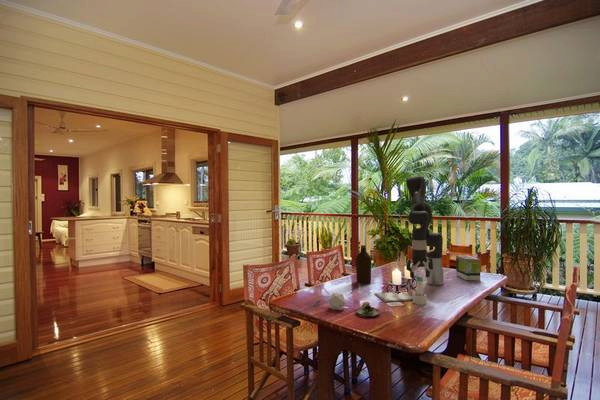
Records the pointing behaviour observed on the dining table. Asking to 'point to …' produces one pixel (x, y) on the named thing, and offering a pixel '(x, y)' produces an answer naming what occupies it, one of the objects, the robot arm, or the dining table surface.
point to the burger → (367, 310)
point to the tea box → (468, 267)
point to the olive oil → (363, 266)
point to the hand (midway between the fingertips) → (419, 277)
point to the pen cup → (419, 299)
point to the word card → (395, 304)
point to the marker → (419, 286)
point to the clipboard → (395, 296)
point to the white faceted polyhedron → (337, 301)
